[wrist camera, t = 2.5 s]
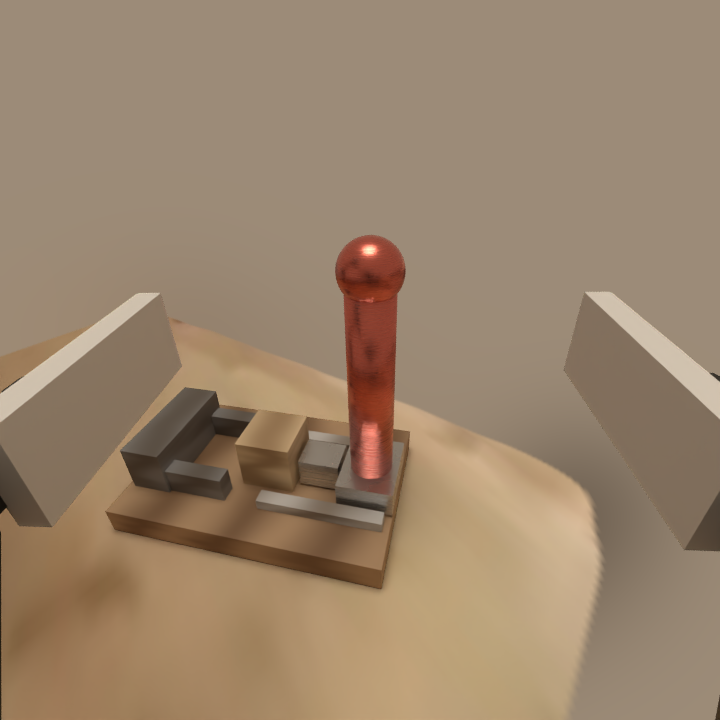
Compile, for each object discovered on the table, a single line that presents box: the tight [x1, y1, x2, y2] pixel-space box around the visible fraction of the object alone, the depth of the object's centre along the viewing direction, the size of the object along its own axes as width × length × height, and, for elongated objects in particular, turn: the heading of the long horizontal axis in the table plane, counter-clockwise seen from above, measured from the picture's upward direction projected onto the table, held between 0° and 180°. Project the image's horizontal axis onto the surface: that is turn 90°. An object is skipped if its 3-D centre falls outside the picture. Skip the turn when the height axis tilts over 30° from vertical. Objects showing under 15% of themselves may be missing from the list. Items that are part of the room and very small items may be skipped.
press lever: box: [298, 235, 405, 516], centre depth 27 cm, size 7×5×18 cm
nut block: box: [235, 410, 309, 492], centre depth 32 cm, size 4×4×4 cm
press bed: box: [105, 387, 410, 589], centre depth 33 cm, size 20×13×6 cm, turn 77°
